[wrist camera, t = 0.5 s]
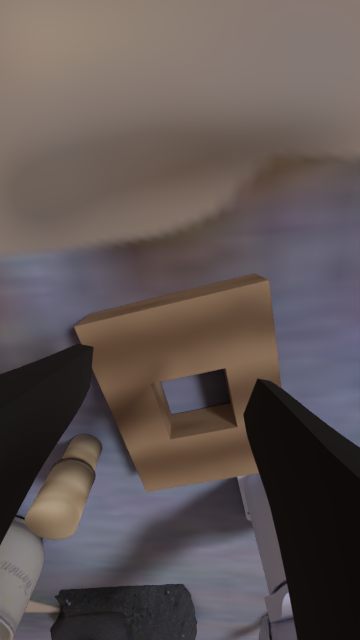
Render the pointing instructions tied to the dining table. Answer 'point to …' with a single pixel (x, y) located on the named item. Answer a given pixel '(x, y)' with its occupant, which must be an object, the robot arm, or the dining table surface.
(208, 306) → the board
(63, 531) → the peg
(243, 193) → the dining table surface
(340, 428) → the dining table surface
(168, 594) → the dark slate chunk
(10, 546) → the teacup
